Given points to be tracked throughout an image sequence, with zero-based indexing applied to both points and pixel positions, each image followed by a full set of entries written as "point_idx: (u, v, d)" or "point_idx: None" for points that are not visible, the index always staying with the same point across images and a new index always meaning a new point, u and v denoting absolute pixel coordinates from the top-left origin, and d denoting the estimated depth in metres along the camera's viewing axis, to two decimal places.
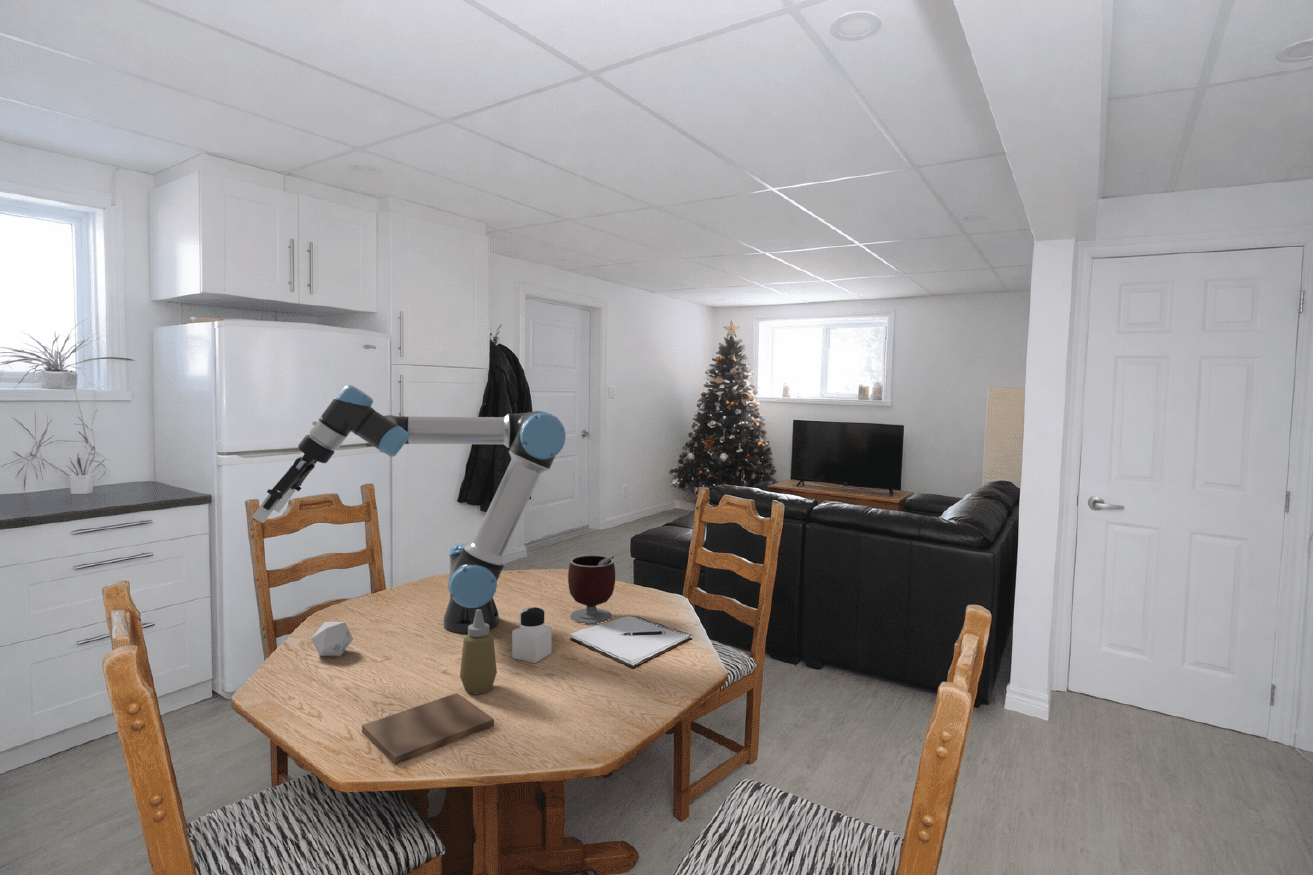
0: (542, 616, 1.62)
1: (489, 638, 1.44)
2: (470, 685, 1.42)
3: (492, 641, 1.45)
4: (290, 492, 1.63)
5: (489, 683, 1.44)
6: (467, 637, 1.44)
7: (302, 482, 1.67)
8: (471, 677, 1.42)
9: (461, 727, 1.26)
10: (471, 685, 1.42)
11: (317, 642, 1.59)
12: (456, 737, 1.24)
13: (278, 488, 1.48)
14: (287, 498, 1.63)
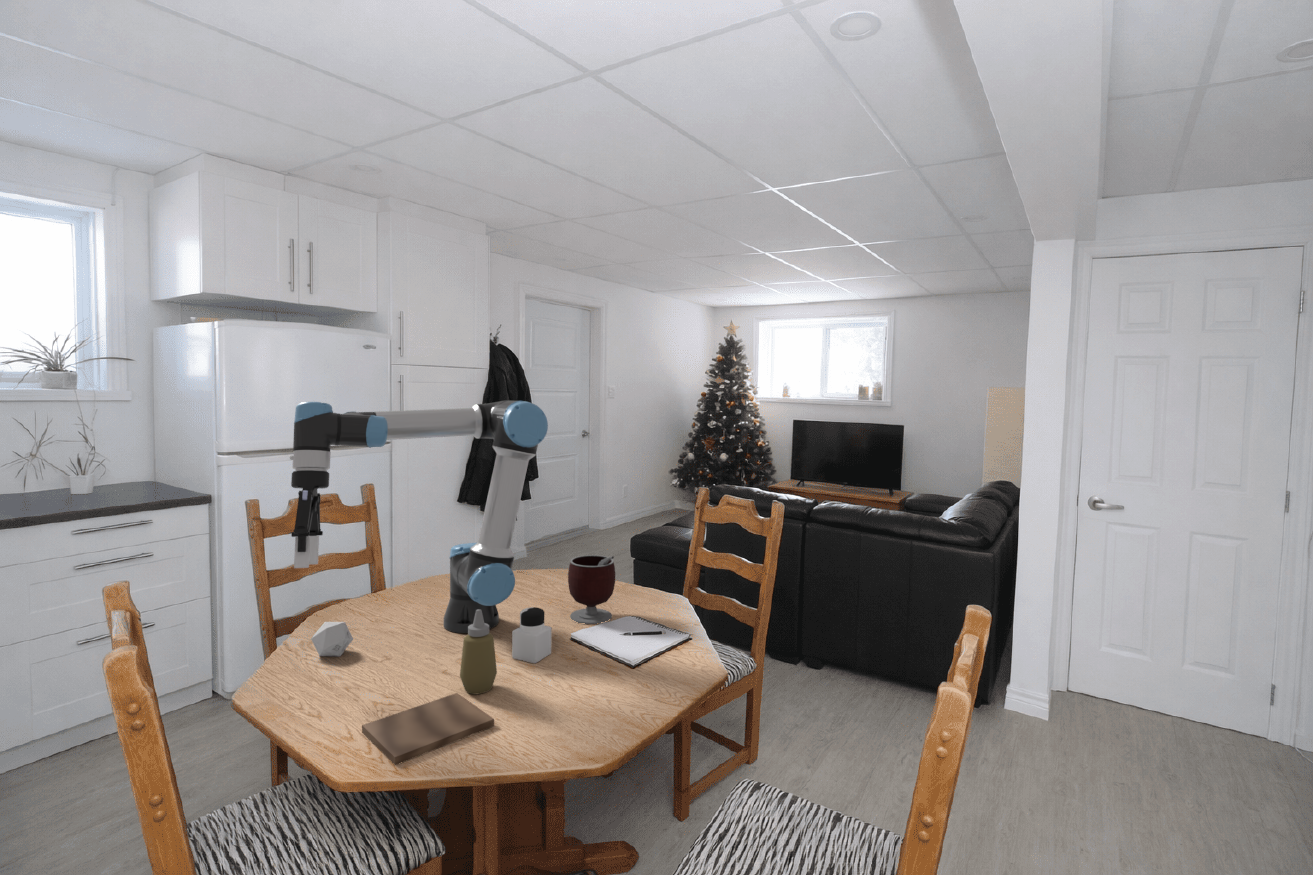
0: (542, 616, 1.62)
1: (489, 638, 1.44)
2: (470, 685, 1.42)
3: (492, 641, 1.45)
4: (315, 539, 1.51)
5: (489, 683, 1.44)
6: (467, 637, 1.44)
7: None
8: (471, 677, 1.42)
9: (461, 727, 1.26)
10: (471, 685, 1.42)
11: (317, 642, 1.59)
12: (456, 737, 1.24)
13: (300, 524, 1.37)
14: (316, 546, 1.51)
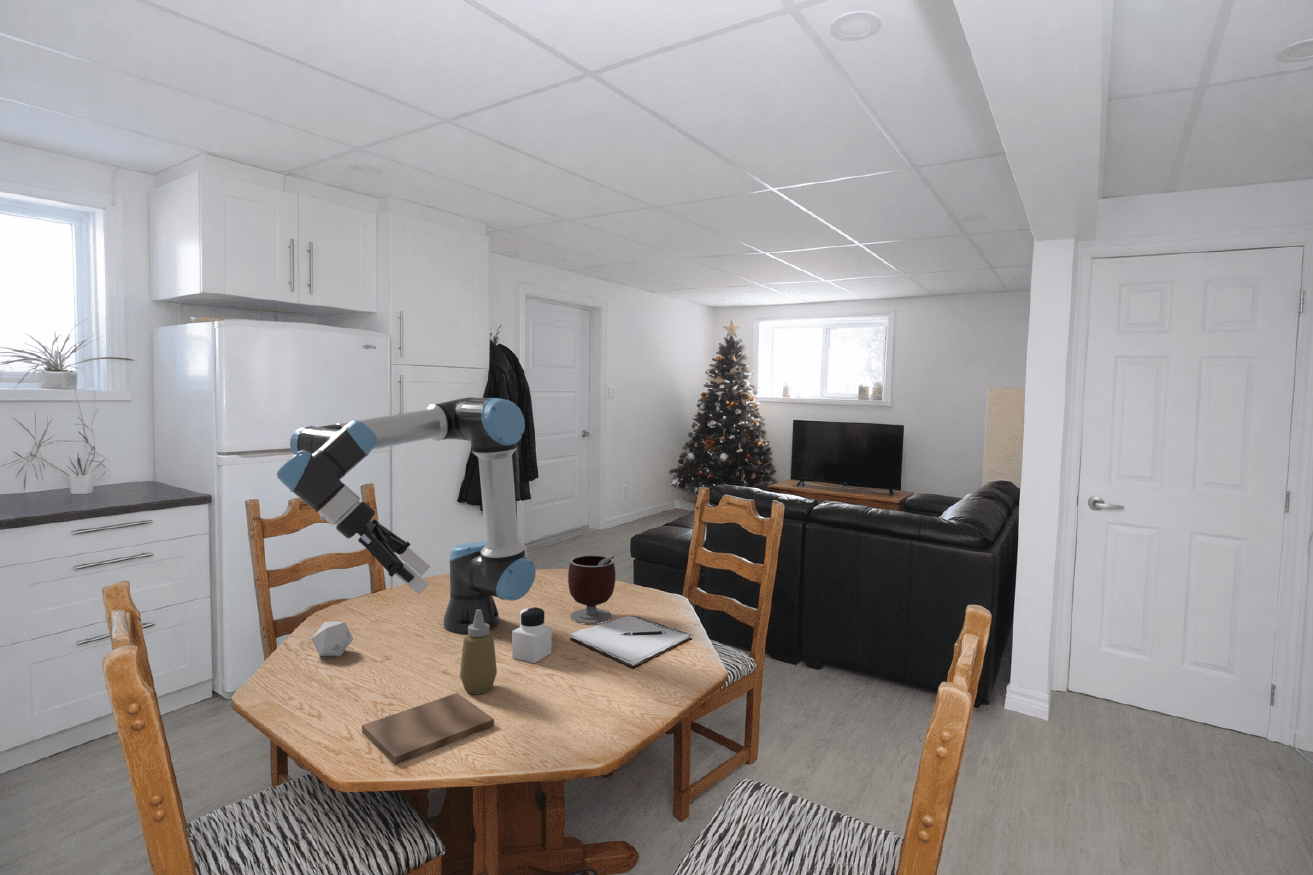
0: (542, 616, 1.62)
1: (489, 638, 1.44)
2: (470, 685, 1.42)
3: (492, 641, 1.45)
4: (409, 552, 1.45)
5: (489, 683, 1.44)
6: (467, 637, 1.44)
7: None
8: (471, 677, 1.42)
9: (461, 727, 1.26)
10: (471, 685, 1.42)
11: (317, 642, 1.59)
12: (456, 737, 1.24)
13: (388, 564, 1.29)
14: (415, 556, 1.46)
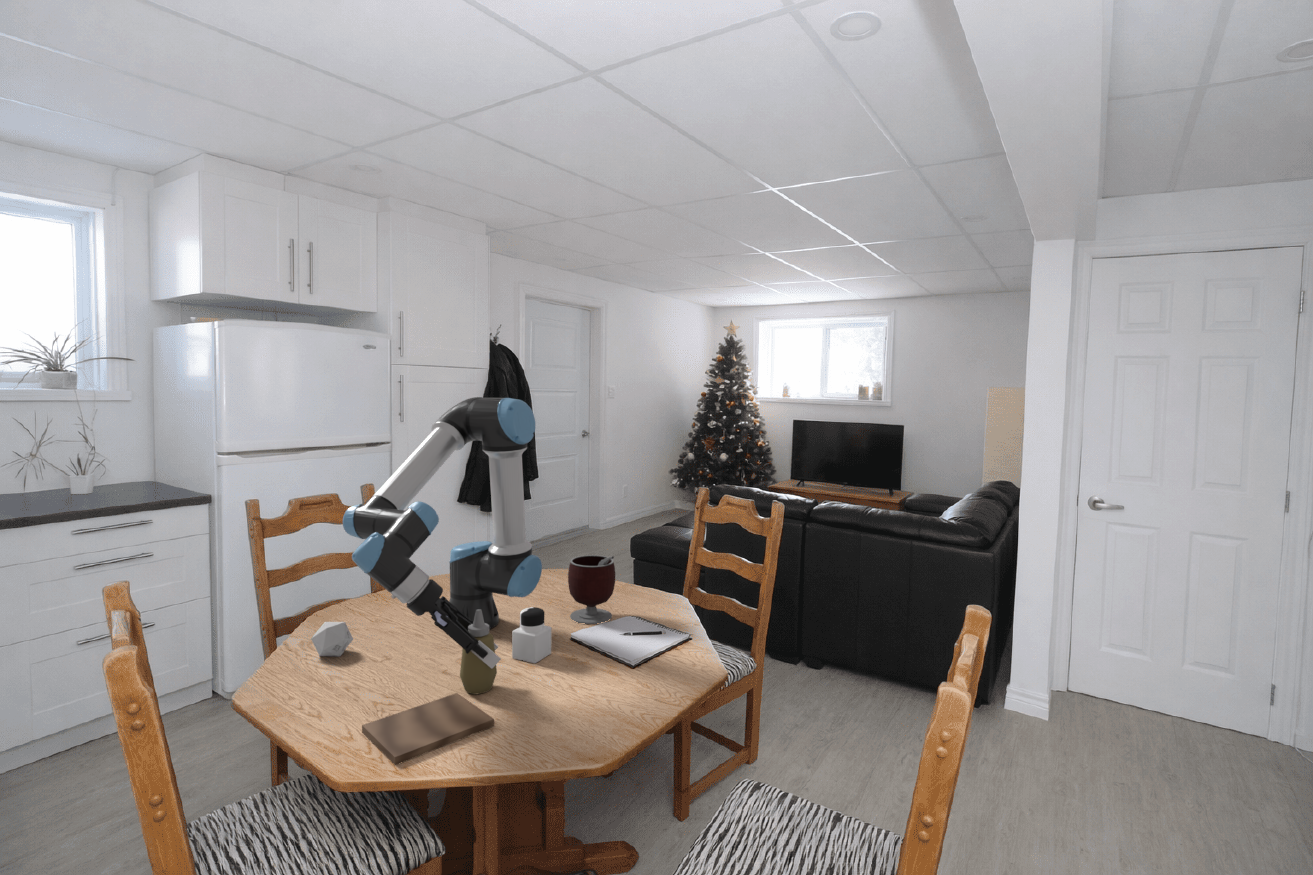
0: (542, 616, 1.62)
1: (489, 638, 1.44)
2: (470, 684, 1.42)
3: (492, 641, 1.45)
4: None
5: (488, 683, 1.44)
6: None
7: (470, 619, 1.51)
8: (471, 677, 1.42)
9: (461, 727, 1.26)
10: (471, 685, 1.42)
11: (317, 642, 1.59)
12: (456, 737, 1.24)
13: (466, 644, 1.38)
14: None
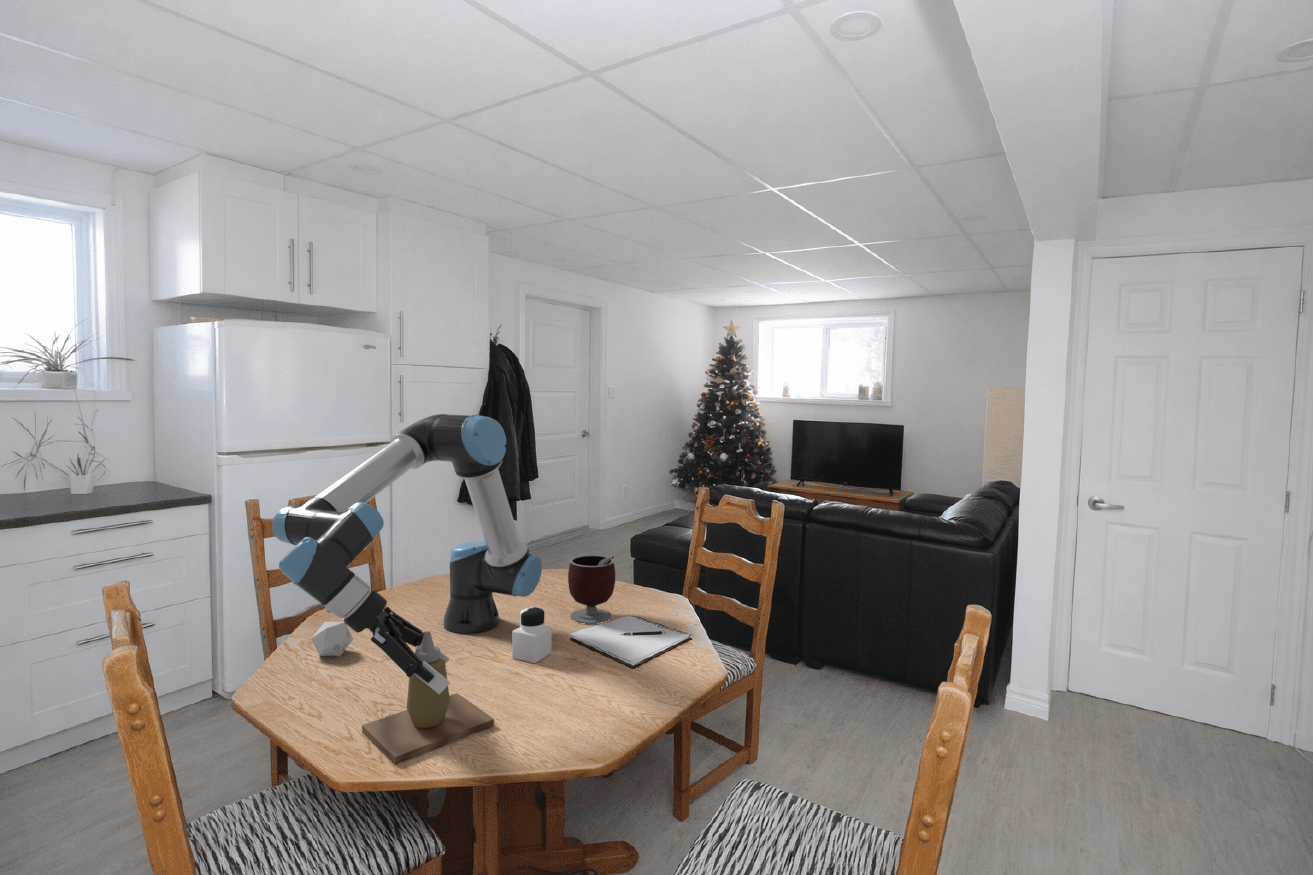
0: (542, 616, 1.62)
1: (439, 664, 1.26)
2: (418, 718, 1.24)
3: (443, 667, 1.27)
4: None
5: (439, 715, 1.26)
6: None
7: (418, 628, 1.34)
8: (418, 709, 1.24)
9: (461, 727, 1.26)
10: (419, 718, 1.24)
11: (317, 642, 1.59)
12: (456, 737, 1.24)
13: (406, 666, 1.18)
14: None
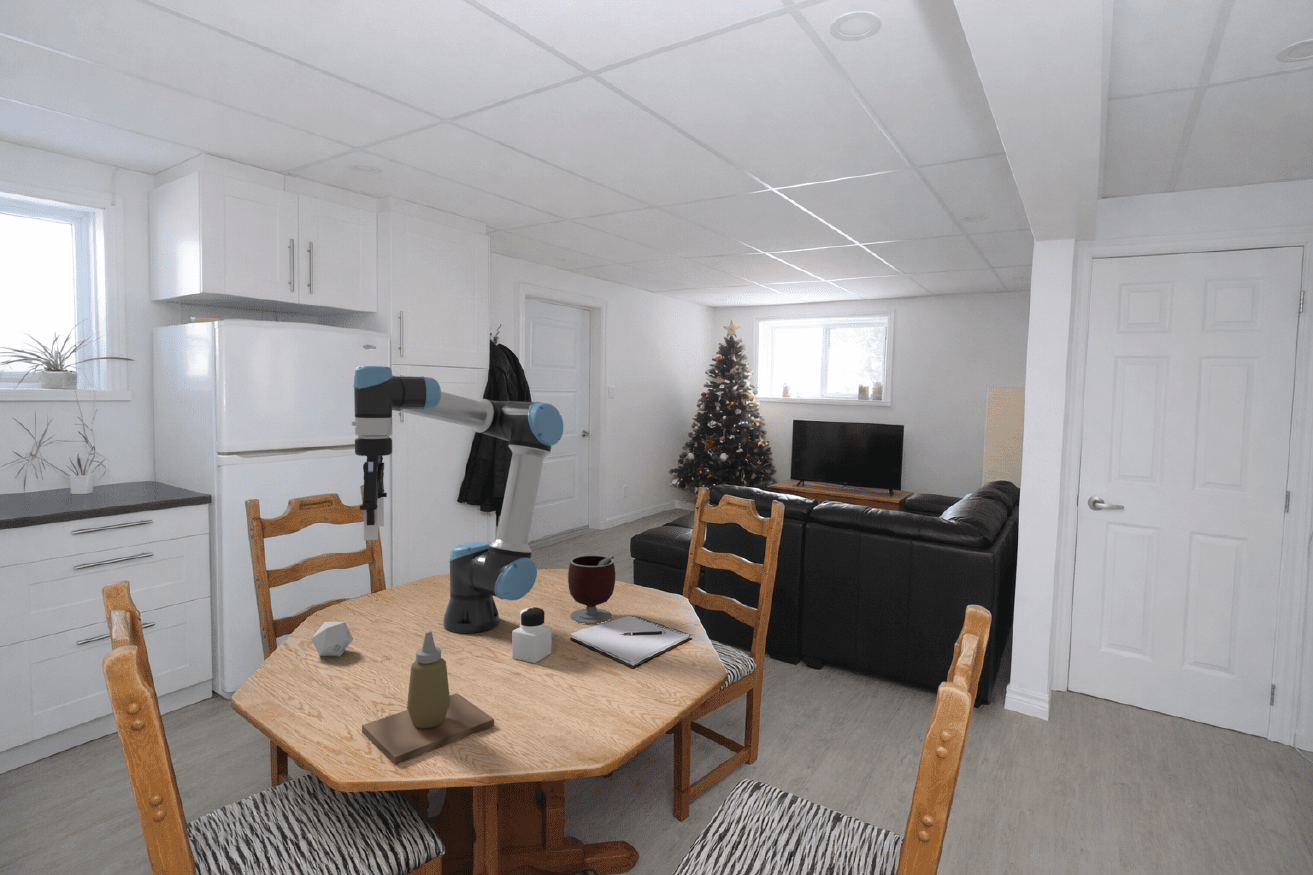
0: (542, 616, 1.62)
1: (440, 665, 1.26)
2: (418, 718, 1.24)
3: (444, 668, 1.27)
4: (380, 502, 1.50)
5: (439, 715, 1.26)
6: (415, 663, 1.26)
7: (383, 487, 1.53)
8: (418, 710, 1.24)
9: (461, 727, 1.26)
10: (419, 718, 1.24)
11: (317, 642, 1.59)
12: (456, 737, 1.24)
13: (368, 499, 1.34)
14: (381, 509, 1.50)
